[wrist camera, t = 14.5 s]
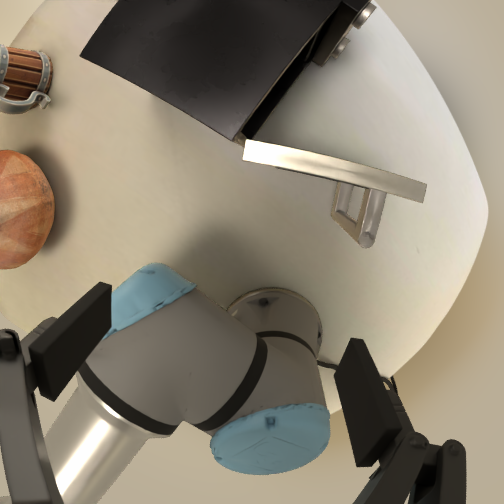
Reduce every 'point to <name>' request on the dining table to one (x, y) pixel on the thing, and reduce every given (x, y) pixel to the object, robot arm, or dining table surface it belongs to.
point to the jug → (23, 209)
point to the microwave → (222, 52)
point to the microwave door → (341, 184)
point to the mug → (23, 79)
